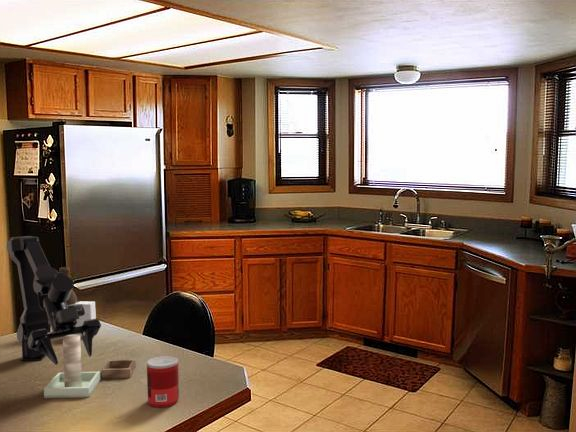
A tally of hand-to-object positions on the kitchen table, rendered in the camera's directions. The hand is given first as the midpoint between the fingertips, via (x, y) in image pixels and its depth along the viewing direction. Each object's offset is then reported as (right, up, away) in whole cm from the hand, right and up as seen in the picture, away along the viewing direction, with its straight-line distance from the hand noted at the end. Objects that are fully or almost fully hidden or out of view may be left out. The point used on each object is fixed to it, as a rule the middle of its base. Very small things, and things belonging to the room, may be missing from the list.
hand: (74, 359), depth 153 cm
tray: (-1, -8, +2) cm, 9 cm away
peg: (-1, -8, +2) cm, 8 cm away
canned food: (+26, -9, -6) cm, 28 cm away
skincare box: (-14, -4, +49) cm, 51 cm away
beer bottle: (-22, -3, +52) cm, 57 cm away
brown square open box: (+8, -7, +14) cm, 17 cm away
